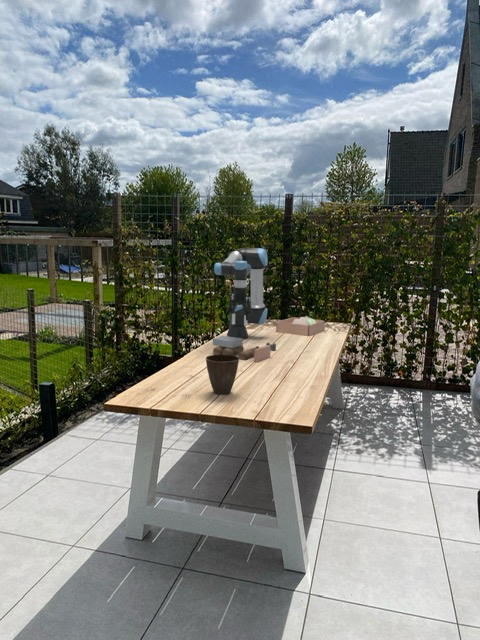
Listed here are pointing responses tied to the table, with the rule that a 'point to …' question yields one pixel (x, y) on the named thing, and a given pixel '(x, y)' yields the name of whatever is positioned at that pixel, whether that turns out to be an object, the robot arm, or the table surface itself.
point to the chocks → (239, 358)
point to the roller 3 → (247, 353)
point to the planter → (299, 327)
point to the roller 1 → (218, 350)
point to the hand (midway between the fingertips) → (239, 324)
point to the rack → (273, 347)
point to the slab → (227, 341)
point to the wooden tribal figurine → (304, 321)
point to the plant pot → (222, 372)
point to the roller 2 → (233, 350)
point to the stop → (262, 353)
